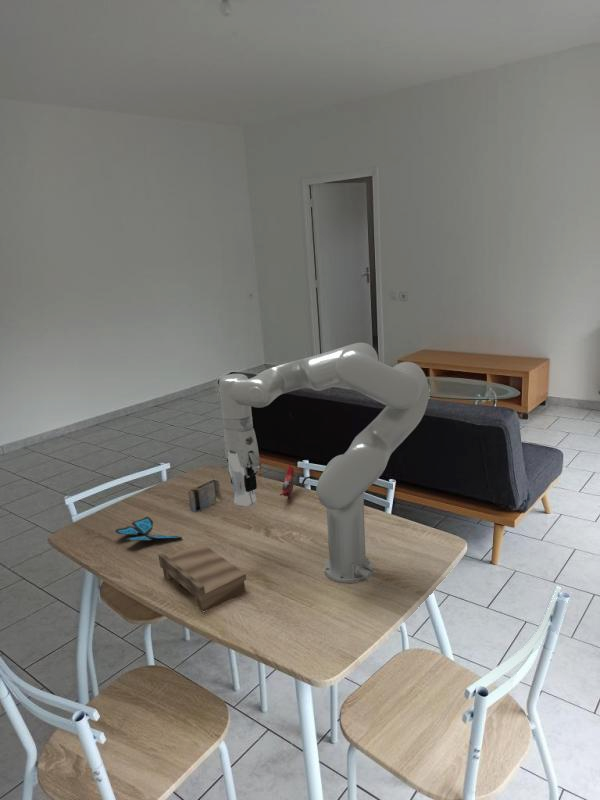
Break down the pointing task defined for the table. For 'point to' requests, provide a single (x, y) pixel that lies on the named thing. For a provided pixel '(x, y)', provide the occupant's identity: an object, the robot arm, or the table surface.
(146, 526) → the decorative butterfly
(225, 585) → the display ledge
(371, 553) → the table surface
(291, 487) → the decorative bird figurine
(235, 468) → the beer glass
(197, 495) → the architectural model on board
